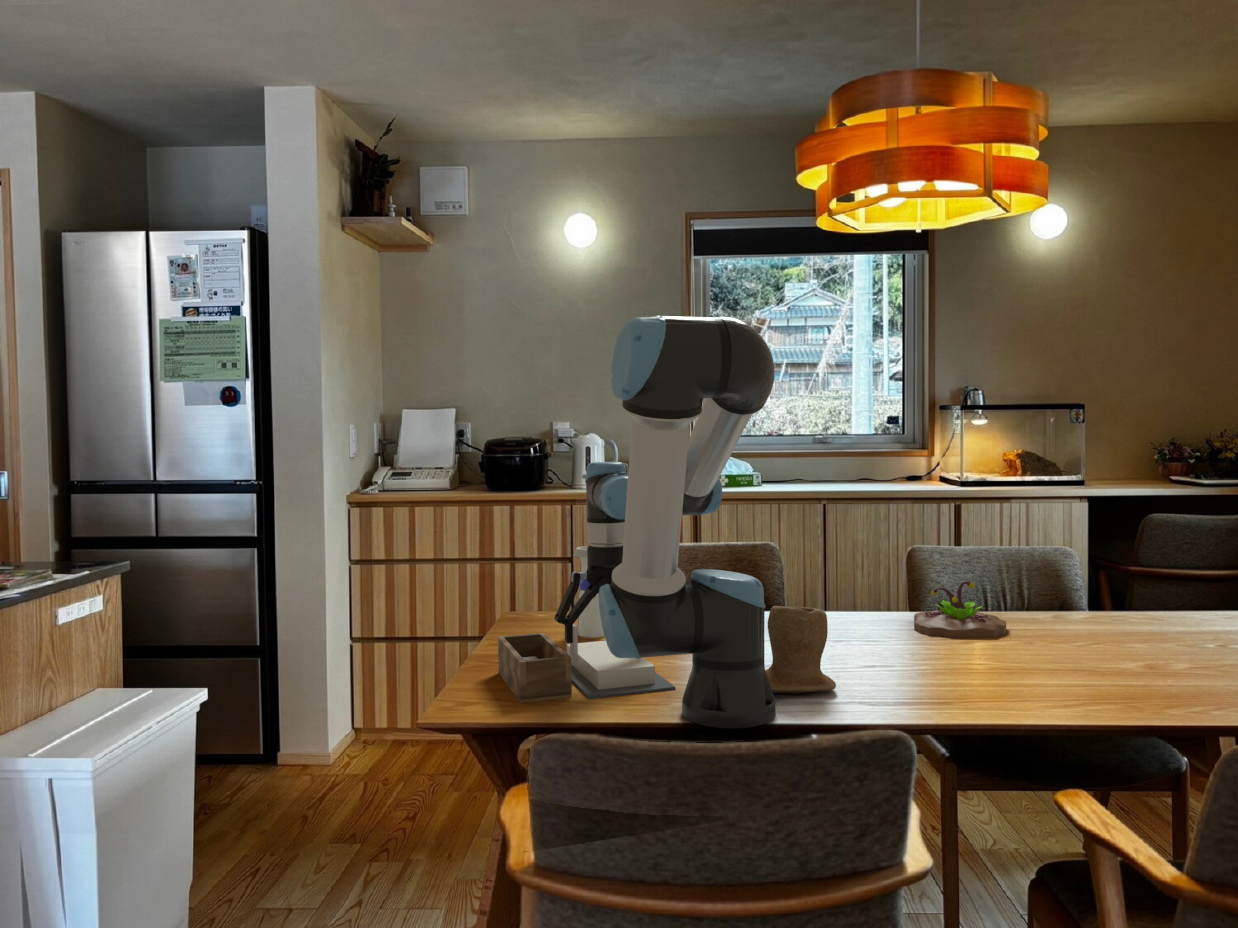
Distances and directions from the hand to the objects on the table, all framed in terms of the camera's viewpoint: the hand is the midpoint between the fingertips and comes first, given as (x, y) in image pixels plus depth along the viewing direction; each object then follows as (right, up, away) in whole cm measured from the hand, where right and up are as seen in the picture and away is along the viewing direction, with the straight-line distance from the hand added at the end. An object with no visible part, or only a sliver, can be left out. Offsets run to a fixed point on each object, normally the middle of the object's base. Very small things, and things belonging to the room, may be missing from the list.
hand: (608, 656), depth 180 cm
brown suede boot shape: (+32, -4, -11) cm, 34 cm away
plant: (+78, -1, +34) cm, 85 cm away
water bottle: (-4, -2, +34) cm, 34 cm away
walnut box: (-14, -4, -6) cm, 15 cm away
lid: (0, -3, 0) cm, 3 cm away
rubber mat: (0, -3, 0) cm, 3 cm away
